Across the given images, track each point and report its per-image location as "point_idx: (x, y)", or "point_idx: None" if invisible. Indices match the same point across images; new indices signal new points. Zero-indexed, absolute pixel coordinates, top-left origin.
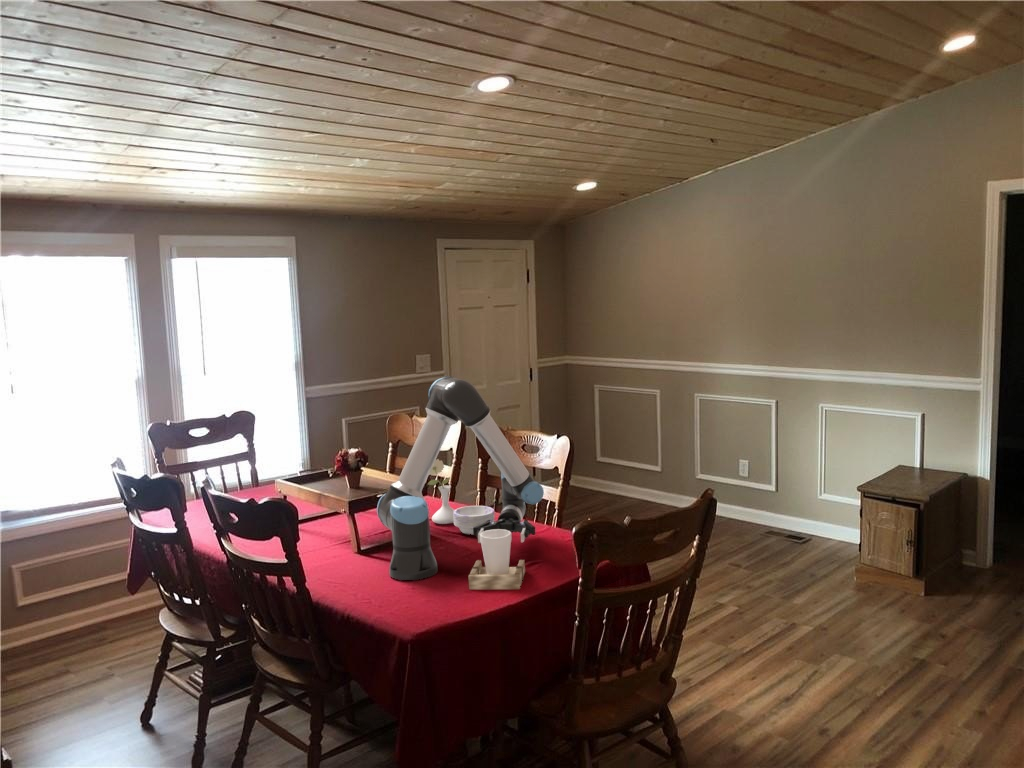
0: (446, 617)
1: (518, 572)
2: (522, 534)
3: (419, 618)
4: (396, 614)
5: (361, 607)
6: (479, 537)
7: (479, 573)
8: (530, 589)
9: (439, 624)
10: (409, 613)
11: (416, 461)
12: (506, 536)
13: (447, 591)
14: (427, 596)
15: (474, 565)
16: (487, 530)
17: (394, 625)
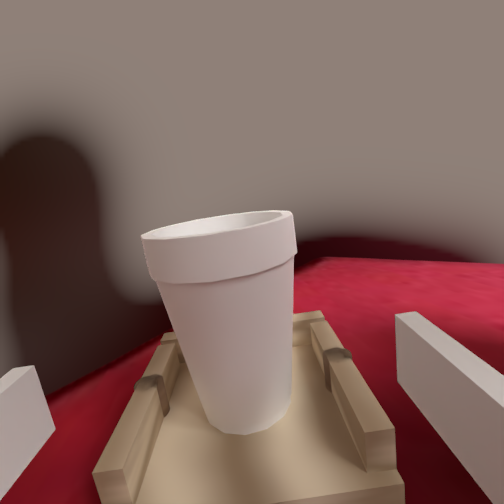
0: (305, 280)
1: (161, 349)
2: (18, 371)
3: (348, 272)
4: (398, 271)
5: (496, 269)
6: (401, 337)
7: (335, 404)
8: (140, 375)
9: (305, 271)
10: (378, 275)
11: None
12: (170, 225)
13: (379, 332)
14: (408, 309)
15: (355, 370)
16: (269, 222)
17: (370, 261)
